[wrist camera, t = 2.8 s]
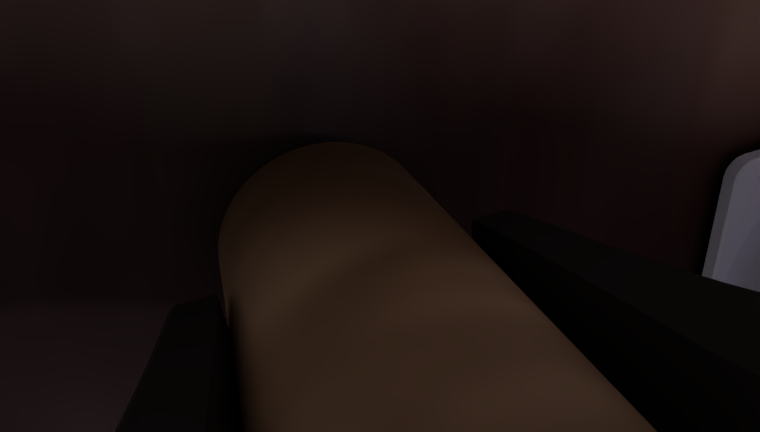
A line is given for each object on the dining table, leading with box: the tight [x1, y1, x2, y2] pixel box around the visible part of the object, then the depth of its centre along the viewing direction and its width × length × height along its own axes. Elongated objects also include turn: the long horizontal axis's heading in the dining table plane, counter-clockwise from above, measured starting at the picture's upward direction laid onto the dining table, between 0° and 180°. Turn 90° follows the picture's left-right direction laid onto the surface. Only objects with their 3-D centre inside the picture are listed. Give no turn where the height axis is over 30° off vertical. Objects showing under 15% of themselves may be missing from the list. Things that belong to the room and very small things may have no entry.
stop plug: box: [218, 142, 657, 432], centre depth 7 cm, size 4×4×7 cm
